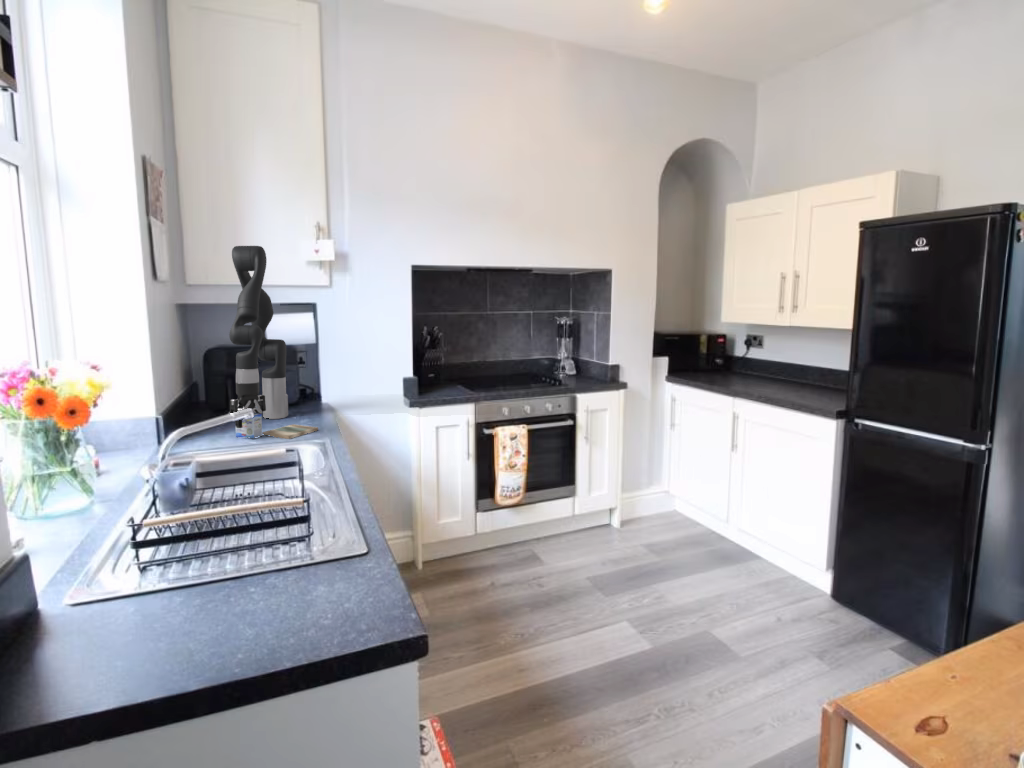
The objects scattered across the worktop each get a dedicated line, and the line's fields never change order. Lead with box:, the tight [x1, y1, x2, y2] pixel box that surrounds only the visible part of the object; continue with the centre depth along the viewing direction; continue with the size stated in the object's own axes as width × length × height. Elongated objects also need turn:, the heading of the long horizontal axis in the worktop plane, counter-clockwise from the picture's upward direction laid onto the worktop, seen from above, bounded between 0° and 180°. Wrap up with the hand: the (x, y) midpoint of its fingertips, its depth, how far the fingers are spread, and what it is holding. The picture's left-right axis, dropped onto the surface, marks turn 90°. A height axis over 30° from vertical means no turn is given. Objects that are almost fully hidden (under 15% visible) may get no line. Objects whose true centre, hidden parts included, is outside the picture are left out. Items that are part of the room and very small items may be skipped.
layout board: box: [262, 423, 319, 440], centre depth 209 cm, size 16×12×1 cm
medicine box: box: [235, 412, 263, 438], centre depth 201 cm, size 8×4×9 cm, turn 76°
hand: (248, 425), depth 200 cm, fingers open, 8 cm apart
